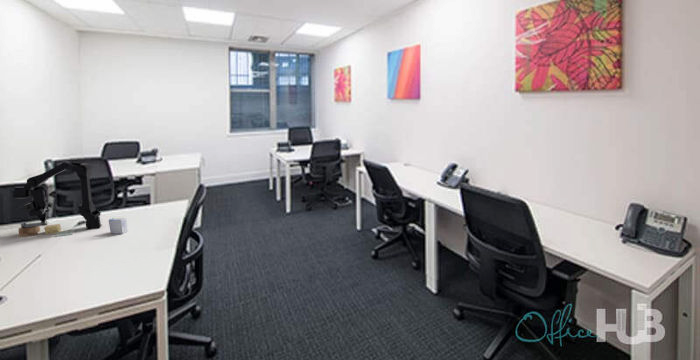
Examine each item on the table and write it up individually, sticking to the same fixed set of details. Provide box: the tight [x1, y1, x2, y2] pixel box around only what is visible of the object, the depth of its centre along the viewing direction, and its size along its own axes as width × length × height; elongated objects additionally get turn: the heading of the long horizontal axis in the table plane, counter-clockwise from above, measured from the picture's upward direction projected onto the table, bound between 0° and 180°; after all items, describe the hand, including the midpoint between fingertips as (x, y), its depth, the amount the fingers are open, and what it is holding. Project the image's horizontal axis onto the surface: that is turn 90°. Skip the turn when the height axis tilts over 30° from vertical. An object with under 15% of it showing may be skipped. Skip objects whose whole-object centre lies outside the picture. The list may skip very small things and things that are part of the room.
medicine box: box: [108, 216, 129, 235], centre depth 198 cm, size 8×4×9 cm, turn 84°
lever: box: [20, 220, 48, 228], centre depth 194 cm, size 11×3×2 cm, turn 116°
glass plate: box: [54, 229, 76, 238], centre depth 196 cm, size 8×7×1 cm
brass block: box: [43, 223, 62, 235], centre depth 198 cm, size 6×4×4 cm
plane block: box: [17, 226, 41, 238], centre depth 195 cm, size 7×7×4 cm
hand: (43, 222), depth 198 cm, fingers closed
